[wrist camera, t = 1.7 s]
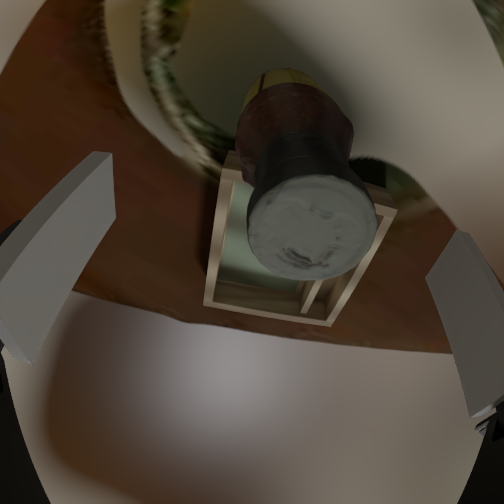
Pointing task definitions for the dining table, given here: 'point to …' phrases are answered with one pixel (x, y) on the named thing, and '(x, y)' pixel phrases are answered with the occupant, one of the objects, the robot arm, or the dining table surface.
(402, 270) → the dining table surface
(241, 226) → the box
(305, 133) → the sauce bottle
